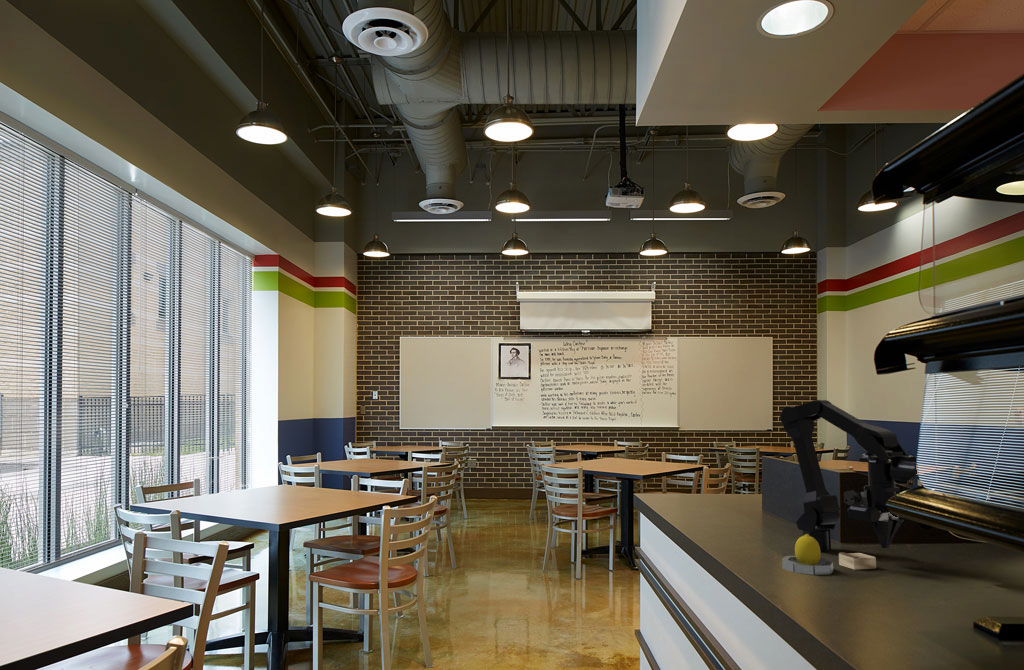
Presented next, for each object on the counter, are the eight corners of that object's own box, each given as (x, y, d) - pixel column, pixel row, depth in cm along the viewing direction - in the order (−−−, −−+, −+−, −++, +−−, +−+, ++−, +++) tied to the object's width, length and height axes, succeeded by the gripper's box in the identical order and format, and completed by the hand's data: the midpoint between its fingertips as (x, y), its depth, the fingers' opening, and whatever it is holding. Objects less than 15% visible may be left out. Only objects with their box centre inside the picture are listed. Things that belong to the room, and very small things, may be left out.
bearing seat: (812, 563, 163) (812, 554, 163) (842, 573, 153) (842, 564, 153) (774, 565, 160) (774, 556, 161) (802, 576, 150) (802, 566, 151)
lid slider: (860, 563, 163) (860, 551, 163) (876, 568, 158) (875, 556, 158) (839, 564, 161) (838, 552, 162) (854, 569, 156) (853, 557, 157)
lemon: (824, 569, 157) (823, 534, 158) (815, 573, 153) (814, 537, 154) (800, 565, 161) (799, 530, 161) (791, 569, 157) (790, 534, 157)
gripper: (876, 477, 175) (879, 539, 173) (826, 480, 167) (829, 545, 165) (918, 481, 165) (921, 547, 163) (868, 485, 157) (871, 554, 155)
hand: (884, 548), depth 162 cm, fingers closed
